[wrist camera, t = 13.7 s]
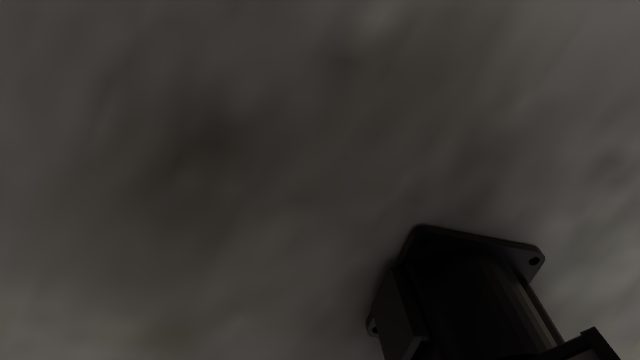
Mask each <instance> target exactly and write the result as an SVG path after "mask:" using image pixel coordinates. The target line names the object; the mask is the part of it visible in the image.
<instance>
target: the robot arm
mask: <svg viewBox="0 0 640 360" xmlns="http://www.w3.org/2000/svg"><path fill="white" fill-rule="evenodd" d="M423 236H427V237H426V238H425V239H421V240H419V239H420V238H421V237H423ZM533 257H534V258H533ZM531 258H533V259H531ZM544 261H545V256H544V255H543V253H542V252H541V251H540V249H539V248H537V247H533V246H528V245H522V244H517V243H512V242H507V241H502V240H497V239H491V238H486V237H481V236H476V235H471V234H466V233H461V232H455V231H450V230H445V229H440V228H435V227H430V226H420V227H417V228H416V229H414V230H413V231H412V233H411V234H410V236H409V238H408V240H407V242H406V244H405V246H404V248H403V250H402V252H401V254H400V256H399V258H398V260H397V262H396V264H395V265H394V266H393V267H392V268H391V269H390V270H389V272H388V274H387V276H386V278H385V280H384V282H383V284H382V286H381V288H380V290H379V292H378V294H377V296H376V298H375V300H374V302H373V304H372V306H371V309H372V311H371V313H370V315H369V317H368V319H367V321H366V324H365V325H366V330H367V333H368V334H369V335H370V336H372V337H378V338H379V339H380V343H381V347H382V350H383V354H384V358H385V360H621V359H620V358H619V357H618V355H617V354H616V353H615V352H614V350H613V349H612V348H611V347H610V345H609V344H608V343H607V342H606V340H605V339H604V338H603V336H602V335H601V334H600V333H599V331H598V330H597V329H596V328H595V327H592V328H589V329H587V330H585V331H583V332H580V334H581V335H580V336H578V337H576V338H573V339H571V340H569V341H567V342H564V340H563V338H562V337H561V335H560V333H559V332H558V330H557V329H556V327H555V325H554V324H553V322H552V320H551V319H550V317H549V316H548V314H547V312H546V311H545V309H544V308H543V306H542V304H541V303H540V301H539V299H538V298H537V296H536V295H535V293H534V291H533V290H532V288H531V286H530V285H529V283H530V282H531V280H532V279H533V278H534V276H535V275H536V273H537V272H538V270H539V269H540V267H541V266H542V264H543V263H544Z"/></svg>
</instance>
